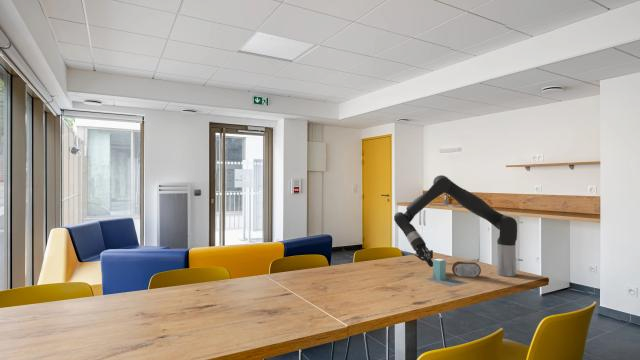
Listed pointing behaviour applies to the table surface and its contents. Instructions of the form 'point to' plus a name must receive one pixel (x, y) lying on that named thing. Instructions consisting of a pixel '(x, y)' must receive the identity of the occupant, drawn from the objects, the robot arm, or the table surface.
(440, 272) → the block
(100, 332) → the table surface
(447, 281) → the mat
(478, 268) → the tin
